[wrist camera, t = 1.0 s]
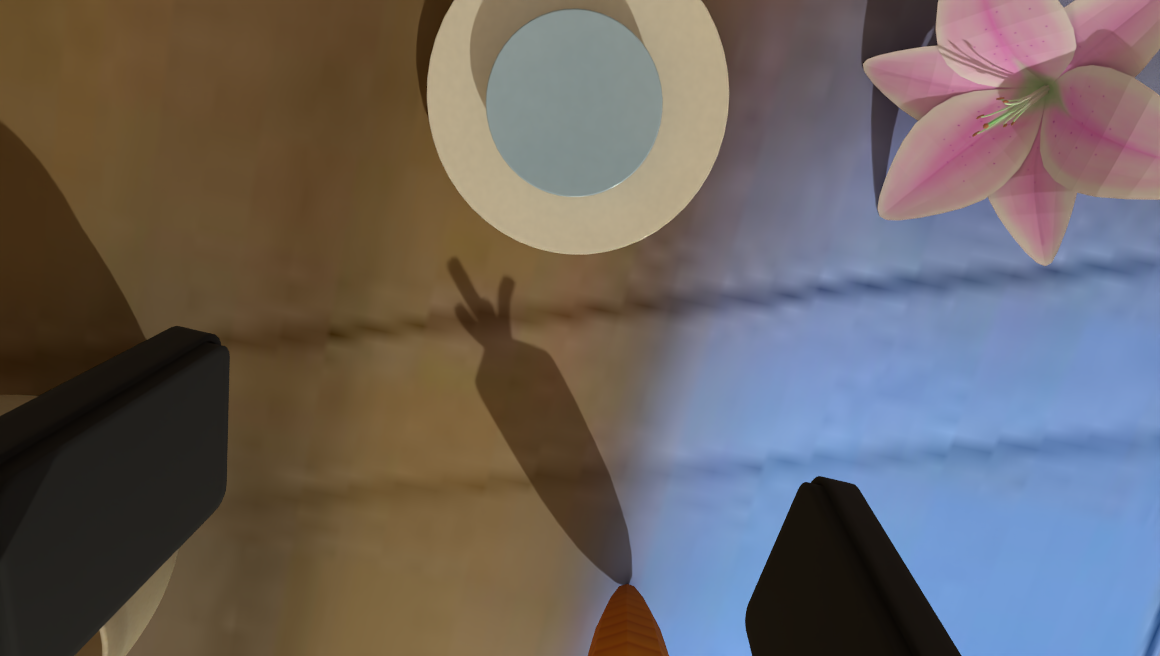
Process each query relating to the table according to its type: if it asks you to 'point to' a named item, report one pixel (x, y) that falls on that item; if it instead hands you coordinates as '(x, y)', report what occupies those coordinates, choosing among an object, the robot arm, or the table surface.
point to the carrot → (627, 627)
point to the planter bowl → (128, 623)
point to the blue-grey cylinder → (574, 102)
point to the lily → (1025, 113)
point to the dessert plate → (621, 214)
